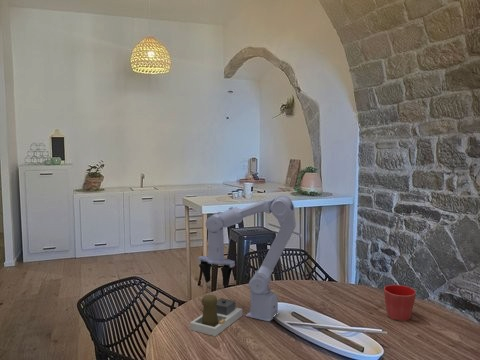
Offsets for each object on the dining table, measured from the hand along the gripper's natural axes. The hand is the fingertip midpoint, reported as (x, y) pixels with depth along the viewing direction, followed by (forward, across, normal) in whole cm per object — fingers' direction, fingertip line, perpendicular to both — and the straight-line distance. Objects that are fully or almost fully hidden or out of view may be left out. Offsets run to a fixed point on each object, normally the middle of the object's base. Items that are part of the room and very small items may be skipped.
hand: (216, 283), depth 152 cm
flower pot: (+11, +60, +26) cm, 66 cm away
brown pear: (+11, +5, -13) cm, 17 cm away
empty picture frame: (+10, +5, -8) cm, 14 cm away
